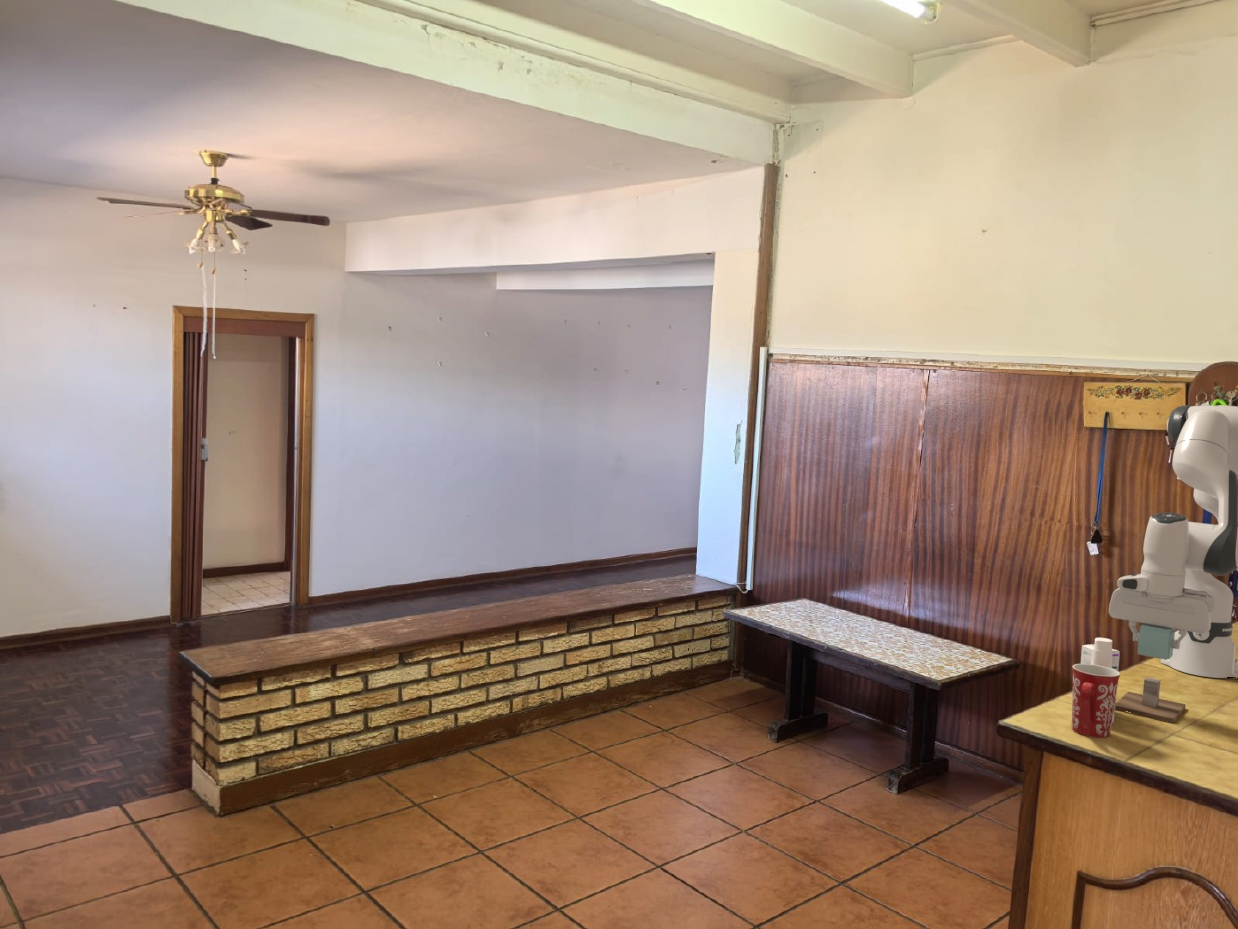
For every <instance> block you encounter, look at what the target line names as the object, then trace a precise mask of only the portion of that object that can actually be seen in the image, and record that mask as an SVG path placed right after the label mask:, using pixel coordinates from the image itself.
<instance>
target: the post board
mask: <svg viewBox="0 0 1238 929" xmlns="http://www.w3.org/2000/svg"><path fill="white" fill-rule="evenodd" d="M1142 688H1143V689H1142V690H1143V691H1142V694H1141V693H1137V692H1131V691H1127V692H1126V693H1125V694H1124V695H1123V696H1122V697H1120V699H1118V701H1116V704H1115V711H1118V710H1119V712H1123V711H1128V712H1131V713H1134V714H1133V715H1135V714H1137V715H1136V716H1140V717H1144V718H1148V719H1152V718H1154V719H1153V720H1157V719H1159V720H1158V721H1161V720H1162V722H1165V723H1169V722H1170V723H1171V724H1174V723H1175V722H1176V721H1177V719H1178V718H1179V717H1180V716H1181V714H1182V713H1183V712H1184V711H1185V709H1186V704H1185V703H1182V702H1181V703H1180V702H1176V701H1172V700H1168V699H1164V698H1160V689H1161V679H1156V678H1152V677H1145V679H1143V687H1142ZM1182 711H1183V712H1182ZM1131 713H1130V714H1131ZM1179 715H1180V716H1179ZM1175 720H1176V721H1175Z"/></svg>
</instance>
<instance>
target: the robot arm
mask: <svg viewBox="0 0 1238 929" xmlns="http://www.w3.org/2000/svg"><path fill="white" fill-rule="evenodd" d="M1166 431H1167V435H1168V439H1169V440H1170V441H1171V442H1172V443H1173V444H1175V447H1174V451H1173V453H1172V454H1173V455H1172V464H1171V465H1172V469H1173V471H1174V473H1175V475H1176V476H1177V478H1178V479H1179V480H1181V481H1182V482H1183V483H1184V484H1185V485H1187V486H1189V487H1191V488H1193V499H1194V502H1195V503H1196V505H1198V506H1199V507H1200V508H1201V509H1203V510H1205V511H1207V512H1209V513H1211V514H1212V515H1213V516H1214V517H1215V518H1216V520H1217V524H1212V523H1202V522H1195V521H1194V522H1193V521H1189V520H1188V517H1186V515H1182V514H1180V513H1178V512H1177V513H1176V512H1175V513H1174V512H1167V511H1166V512H1156V513H1154V514H1152V515H1150V517H1149V519H1148V522H1147V526H1146V530H1145V535H1144V540H1143V547H1142V550H1143V551H1142V552H1143V557H1144V558H1143V563H1142V565H1141V568H1140V573H1135V574H1130V575H1128V574H1127V575H1124V576H1120V577H1119V578H1118V579H1117V580H1116V582H1117V583H1116V585H1117V587H1118V588H1116V589H1114V591H1112V594H1111V598H1110V601H1109V606H1108V614H1109V616H1110V617H1111V618H1113V619H1118V620H1123V621H1128V627H1129V629H1130V631H1131V632H1132V641H1133V642H1138V640H1139V631H1138V630H1137V628H1136V626H1137V625H1138V623H1141V624H1143V623H1145V624H1151V625H1156V626H1162V627H1168V628H1173V629H1175V630H1176V631H1175V636H1174V639H1173V640H1172V645H1171V648H1173V656H1172V657H1171V658H1170V659H1167V660H1164V659H1160V663H1161V664H1163V665H1166V666H1169V667H1171V668H1173V669H1174V670H1177V671H1180V672H1182V673H1185V674H1190V675H1195V676H1199V677H1205V678H1214V679H1228V678H1227V677H1238V658H1237V657H1236V653H1237V652H1236V651H1237V645H1235V642H1234V641H1233V640H1232V635H1233V634H1232V633H1233V627H1234V626H1233V621H1232V612H1233V604H1234V593H1233V591H1232V589H1231V588H1230V587H1229V586H1228V585H1227V584H1225V582H1222V581H1221V580H1219V579H1217V578H1216V577H1214V576H1213V575H1215V576H1220V577H1223V576H1226V575H1228V574H1230V573H1232V572H1235V571H1238V406H1236V405H1228V404H1226V405H1225V404H1224V405H1223V404H1219V405H1193V406H1192V405H1191V404H1185V405H1180V406H1177V407H1175V408H1174V409H1172V411H1171V412H1170V414H1169V417H1168V418H1167V421H1166Z"/></svg>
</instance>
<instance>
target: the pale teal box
mask: <svg viewBox="0 0 1238 929" xmlns="http://www.w3.org/2000/svg"><path fill="white" fill-rule="evenodd" d="M1175 632H1176V629H1173V628H1168V627H1162V626H1156V625H1151V624H1145V623H1141V625H1140V627H1139V631H1138V633H1139V640H1138V641H1137V642H1138V643H1137V650H1136V651H1137V655H1139V656H1145V657H1150V658H1155V659H1160V660H1161V659H1164V660H1167V659H1170V658H1171V657H1172V656H1173V648H1171V645H1172V640H1173V639H1174V636H1175Z"/></svg>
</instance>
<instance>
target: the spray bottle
mask: <svg viewBox="0 0 1238 929" xmlns="http://www.w3.org/2000/svg"><path fill="white" fill-rule="evenodd" d="M1093 644H1094V647H1093V653H1092V658H1091V664H1093V665H1099V666H1104V667H1108V668H1111V669H1113V668H1112V654H1113V651H1112V649H1113V640H1112V639H1111V638H1107V637H1106V638H1105V637H1095V638H1094V643H1093ZM1117 692H1118V691H1117ZM1117 692H1116V694H1117ZM1115 703H1117V697H1116V698H1115ZM1114 713H1116V710H1115V704H1114V710H1113V717H1112V723H1111V725H1112V724H1113V723H1114V720H1115V714H1114Z"/></svg>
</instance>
